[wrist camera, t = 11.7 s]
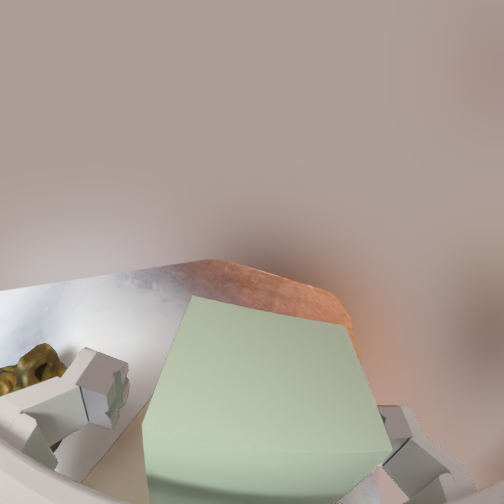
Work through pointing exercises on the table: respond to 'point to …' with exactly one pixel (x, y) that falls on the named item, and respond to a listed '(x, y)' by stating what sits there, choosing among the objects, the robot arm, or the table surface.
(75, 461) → the table surface
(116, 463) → the plinth
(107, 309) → the table surface
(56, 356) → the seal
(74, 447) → the table surface
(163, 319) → the table surface
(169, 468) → the green block
